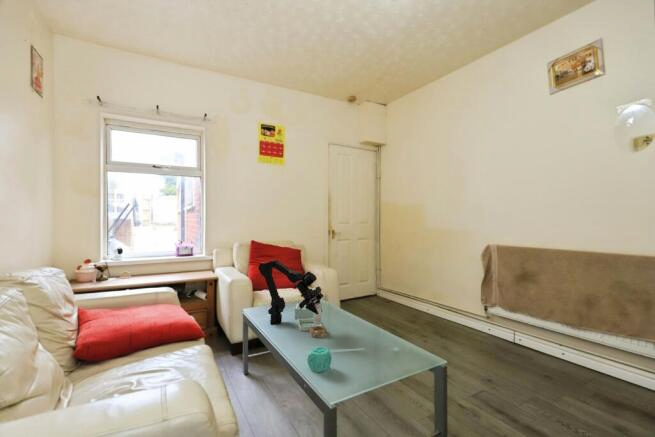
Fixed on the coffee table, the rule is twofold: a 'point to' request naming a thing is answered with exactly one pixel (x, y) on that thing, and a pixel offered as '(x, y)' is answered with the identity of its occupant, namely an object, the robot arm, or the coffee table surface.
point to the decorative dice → (319, 359)
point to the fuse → (318, 316)
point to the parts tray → (304, 322)
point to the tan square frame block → (318, 331)
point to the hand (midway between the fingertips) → (319, 313)
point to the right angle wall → (303, 313)
